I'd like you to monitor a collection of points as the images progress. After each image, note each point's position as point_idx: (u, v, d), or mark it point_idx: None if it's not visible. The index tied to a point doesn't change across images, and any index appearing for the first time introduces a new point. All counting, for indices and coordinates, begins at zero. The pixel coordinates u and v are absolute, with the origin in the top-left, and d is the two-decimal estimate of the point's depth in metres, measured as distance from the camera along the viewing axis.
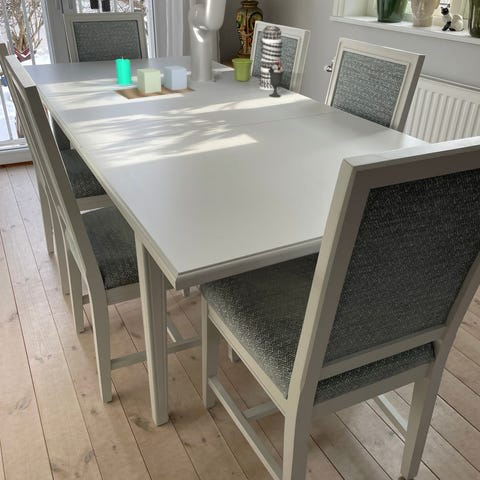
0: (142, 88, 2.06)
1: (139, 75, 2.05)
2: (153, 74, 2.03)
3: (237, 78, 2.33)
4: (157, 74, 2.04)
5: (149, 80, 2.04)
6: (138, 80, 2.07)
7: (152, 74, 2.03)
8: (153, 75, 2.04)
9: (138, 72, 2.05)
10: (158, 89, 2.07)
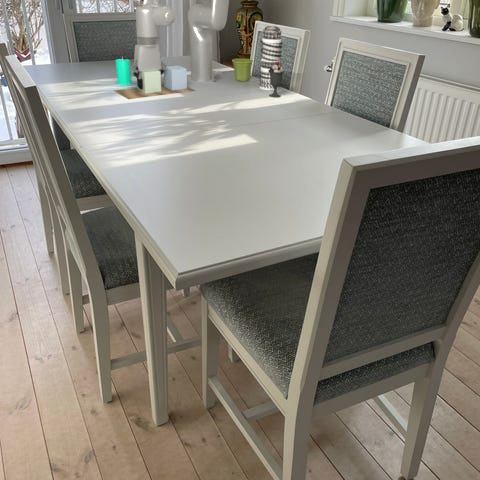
0: None
1: None
2: (153, 74, 2.03)
3: (237, 78, 2.33)
4: (157, 74, 2.04)
5: (149, 80, 2.04)
6: None
7: (152, 74, 2.03)
8: (153, 75, 2.04)
9: None
10: (158, 89, 2.07)
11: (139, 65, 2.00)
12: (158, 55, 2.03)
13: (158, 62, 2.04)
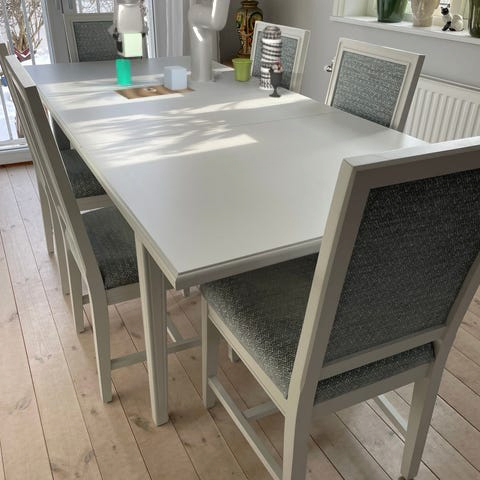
0: None
1: None
2: (134, 36, 1.91)
3: (237, 78, 2.33)
4: (138, 36, 1.91)
5: (129, 42, 1.91)
6: None
7: (132, 36, 1.90)
8: (133, 37, 1.91)
9: None
10: (139, 53, 1.94)
11: (118, 26, 1.87)
12: (139, 16, 1.90)
13: (139, 24, 1.91)
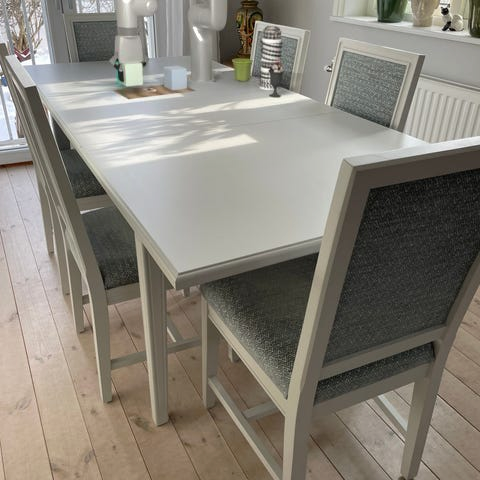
0: None
1: None
2: (135, 66, 1.96)
3: (237, 78, 2.33)
4: (139, 66, 1.96)
5: (130, 72, 1.96)
6: None
7: (133, 66, 1.95)
8: (134, 67, 1.96)
9: None
10: (140, 82, 2.00)
11: (119, 57, 1.92)
12: (140, 47, 1.95)
13: (140, 54, 1.96)
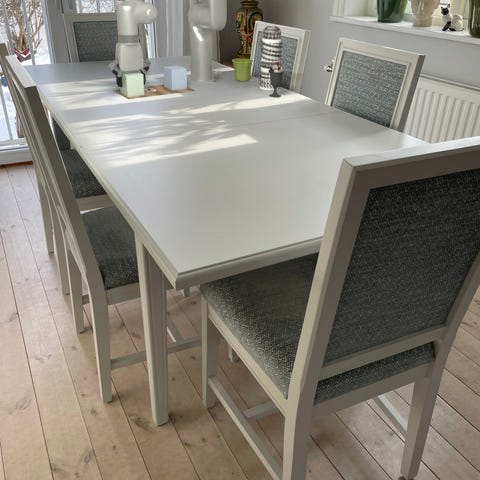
0: (125, 91, 2.00)
1: None
2: (136, 77, 1.98)
3: (237, 78, 2.33)
4: (140, 77, 1.99)
5: (132, 83, 1.98)
6: None
7: (134, 77, 1.97)
8: (136, 78, 1.98)
9: None
10: (141, 92, 2.02)
11: (120, 64, 1.94)
12: (140, 54, 1.96)
13: (140, 61, 1.97)
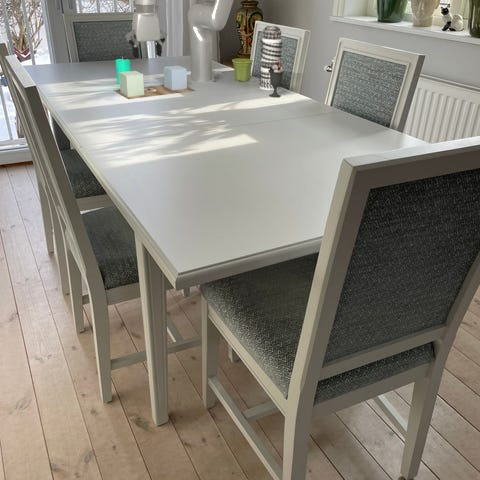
0: (125, 91, 2.00)
1: (121, 78, 2.00)
2: (136, 77, 1.98)
3: (237, 78, 2.33)
4: (140, 77, 1.99)
5: (132, 83, 1.98)
6: (120, 83, 2.02)
7: (134, 77, 1.97)
8: (136, 78, 1.98)
9: (120, 75, 2.00)
10: (141, 92, 2.02)
11: (137, 34, 1.95)
12: (157, 24, 1.97)
13: (157, 32, 1.98)
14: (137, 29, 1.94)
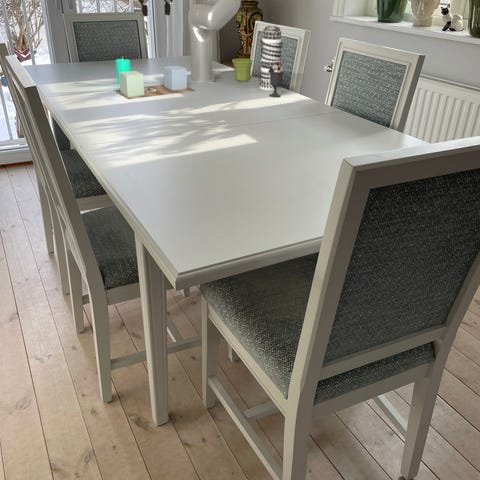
0: (125, 91, 2.00)
1: (121, 78, 2.00)
2: (136, 77, 1.98)
3: (237, 78, 2.33)
4: (140, 77, 1.99)
5: (132, 83, 1.98)
6: (120, 83, 2.02)
7: (134, 77, 1.97)
8: (136, 78, 1.98)
9: (120, 75, 2.00)
10: (141, 92, 2.02)
11: None
12: None
13: None
14: None
